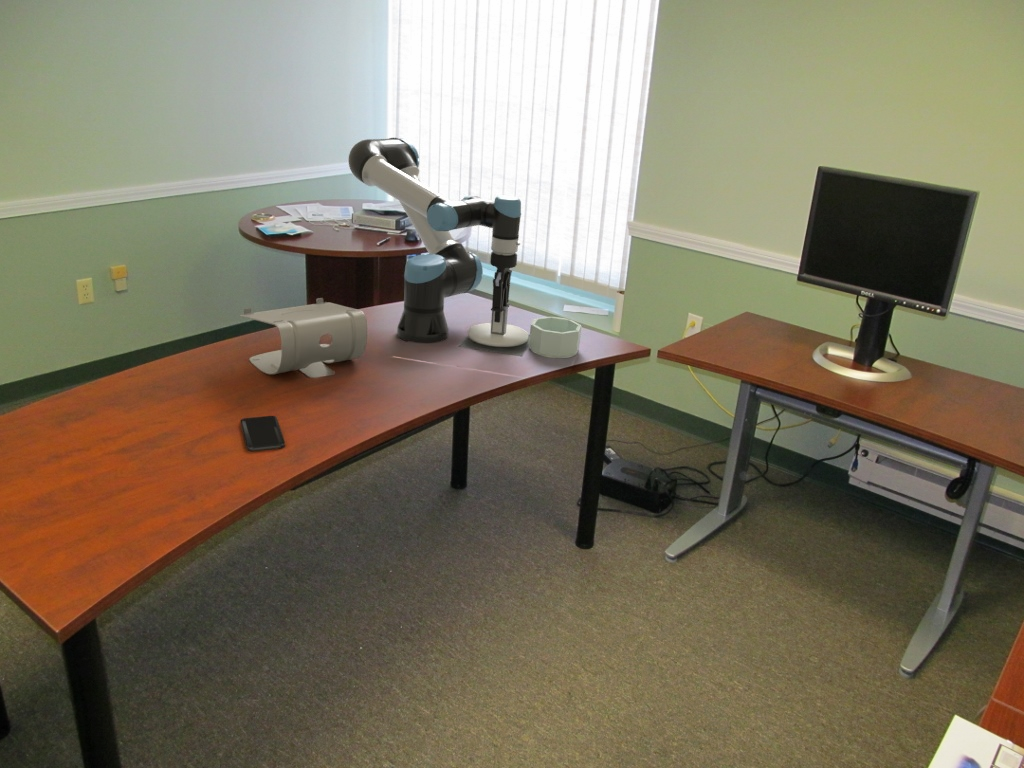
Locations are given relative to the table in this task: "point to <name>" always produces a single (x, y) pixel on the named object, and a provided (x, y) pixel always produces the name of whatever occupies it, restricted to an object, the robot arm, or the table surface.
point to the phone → (262, 433)
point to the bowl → (554, 337)
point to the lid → (504, 339)
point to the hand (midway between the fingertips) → (498, 329)
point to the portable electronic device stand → (312, 338)
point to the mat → (511, 350)
